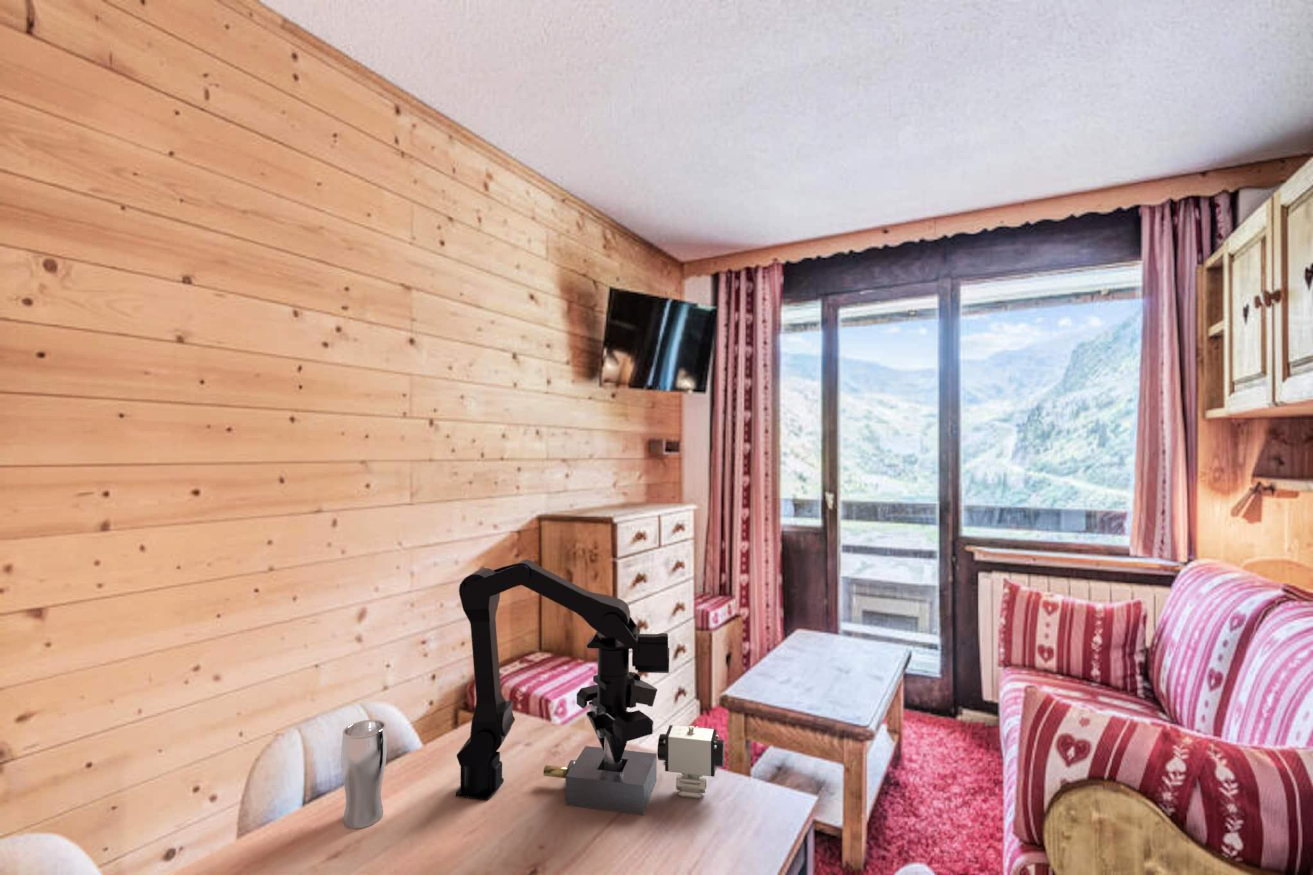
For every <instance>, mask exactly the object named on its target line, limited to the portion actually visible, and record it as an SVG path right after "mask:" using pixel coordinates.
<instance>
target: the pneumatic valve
mask: <svg viewBox="0 0 1313 875" xmlns="http://www.w3.org/2000/svg"><path fill="white" fill-rule="evenodd" d="M719 738H720V736H719V735H718V729H716V728H714V729H713V728H707V727H705V728H703V727H699V726H697V725H695V726H694V725H688V726H686V725H685V726H683V725H673V724H672V725H671V724H669V725H668V729H667V731H666V733H660V734H659V736H658V741H657V753H656V754H657V759H658V760H657V761H663V764H662V765H663V766H664V772H670V773H678V775H676V780H675V789H676V791H679V792H678V795H679V796H681V797H682V798H689V799H697V800H699V799H701V798H702V794H705V793H706V792H707V778H706V777H715V776H716V772H717V769H718V768H724V766H725V756H726V755H725V754H726V750H725V748H726V743H725V739H719ZM717 767H718V768H717ZM679 773H680V774H679ZM703 776H704V777H703ZM705 776H706V777H705Z"/></svg>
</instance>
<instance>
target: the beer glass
mask: <svg viewBox="0 0 1313 875" xmlns="http://www.w3.org/2000/svg"><path fill="white" fill-rule="evenodd" d="M386 727H387V724H386V722H385V721H384V720H380V719H365V720H360V721H356V722H354V723H351V724H349V725H347V726H346V727H345V728H344V729H343V731H342V740H341V749H340V750H341V752H340V753H341V754H340V767H341V768H340V769H341V777H342V781H343V786H344V791H345V793H344V794H345V809H344V813H343V814H344V815H343V817H342V818H343V819H342V824H343V826H344V827H345V828H347V829H351V830H358V829H363V828H367V827H371V826H372V825H374V824H376V823H377V822H379V821H380V820H381V818H382V817H383V814H384V807H383V802H382V784H383V780H384V774H385V768H386V764H387V762H386V761H387V755H388V754H387V750H388V748H387V747H388V743H387V742H388V741H387V740H388V739H387V729H386Z"/></svg>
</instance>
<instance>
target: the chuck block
mask: <svg viewBox="0 0 1313 875" xmlns="http://www.w3.org/2000/svg"><path fill="white" fill-rule="evenodd" d="M657 759H658V755H657V753H654V752H646V751H645V752H644V751H637V750H636V751H634V750H624V752H623V755H622V772H613V771H604V750H603V748H602V747H598V746H589V745H585V746H584V748H582V751H581V753H580V754H579V755H578V757H577V759H576V760H575V759H571V760H569V762H568V765H567V767H565V766H560V765H559V766H557V765H548V764H546V765H544V768H543V777H547V778H548V777H549V778H557V779H565V806H570V807H577V808H583V809H584V808H586V809H593V810H601V811H607V812H615V813H618V812H619V813H624V814H625V813H626V814H632V815H639V816H640V815H642V816H644V815H645V813H646V809H647V807H648V804H649V802H650V799H651V797H652V794H653V791H654V789H655V786H656V783H657V775H658V774H657V773H658V772H657V769H658V768H657V767H658V766H657V764H658V763H657V761H658V760H657Z"/></svg>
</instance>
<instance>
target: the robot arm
mask: <svg viewBox="0 0 1313 875" xmlns="http://www.w3.org/2000/svg"><path fill="white" fill-rule="evenodd" d="M519 586H523V587H525V588H527V589H528V590H531V591H532V592H534V593H536V594H538V595H541V596H542V597H544V598H546V599H548V600H549V601H552V602H554V603H556V604H558V605H560V606H561V607H564V608H566V609H567V610H570V611H572V612H574V613H576V614H577V615H579V617H581V618H582V619H583V621H585V623H586V624H587V625H588V626H590V627H591V628H592V629H594V630H595V631H596V632H595V634H594V635H593V636H592V637H590V639H589V640H588V642H587V644H586V648H587V649H597V674H596V675H593V676H592V680H593V683H595V685H590V686H586V687H585V686H584V687H580V689H579V690H578V692H577V693H576V705H577V706H579V707H580V708H581V709H586V708H587V706H588V705H589V707H590V708H589V709H590V710H589V711H586V716H587V718H588V720H589V722H590V724H591V725H592V728H593V730H594V732H595V735H596V736H597V730H598V729H601V728H605V727H607V728H605V733H606V736H607V740H608V743H609V747H610V750H611V753H612V757H613V760H614V762H615V763H618V762H620V761H621V758H622V755H623V752H624V750H625V749H626V746H627V743H628V742H630V741H633V740H637V739H640V738H643V737H647V736H650V735H653V734H654V720H653V719H652V718H651V717H650V716H648V715H647V714H645V713H644V712H642V711H641V710H639V709H638V710H634V711H628V708H629V709H633V708H636V707H637V704H639V705H646V706H647V707H650V708H651V707H653V706H654V703H655V699H656V696H657V692H658V688H656V687H655V686H653V685H651V684H650V683H648V682H647V681H646V682H645V681H644V680H642V679H641V675H640V674H642V673H643V674H645V673H647V674H669V673H670V647H669V634H668V632H666V633H665V632H662V633H661V632H660V633H641V629H640V628H639V627H638V625H637V624H636V622H635V620H634V619H632V617H631V611H630V610H631V609H630V607H629V605H628V604H627V602H626V601H624V600H622V599H620V598H618V597H614V596H611V595H608V594H603V593H598V592H592V591H589V590H586V589H585V588H583V587H581V586H578V585H577V584H575V583H573V582H571V581H568V580H566V579H565V578H563V577H561V576H559V575H557V574H555V573H553V572H552V571H549V570H547V569H545V567H544V568H543V567H542V566H540V565H537V564H536V563H535V562H534V561H532V560H530V559H522V560H520V561H518V562H516V563H512V564H508V565H505V566H501V567H499V568H496V569H491V568H489V567H482V568H479V569H478V570H476V571H473V573H471V574H469V575H468V576H465V577H464V578H463V580H462V581H461V583H459V587H458V594H459V598H460V603H461V606H462V610H463V612H464V615H465V616H466V618H467V620H468V621H469V625H470V633H471V634H470V635H471V636H470V637H471V650H472V661H473V662H472V663H473V676H474V687H475V689H474V690H475V705H474V710H473V713H472V720H471V725H470V734H469V738H467V740H466V741H465V743H464V744H463V745H462V747H461V749H460V750H459V751H458V752H457V754H456V759H457V761H458V764H459V767H460V781H459V782H460V786H459V788H458V789H457V790H456V791H455V796H456V797H460V798H461V797H462V798H467V799H469V798H470V799H477V800H484V801H487V800H489V799H491V797H492V796H493V795H494V794H495V793H496V791H497V790H498V789H499V788H500V787H501V786H502V784H503V783H504V781H505V780H504V778H503V762H502V761H501V752H500V751H498V750H499V749H500V747H501V746H502V745H503V743H504V741H505V739H506V738H507V736H508V735H509V733H510V732H511V729H512V726H513V725H514V723H515V720H516V718H515V716H514V713H513V709H514V708H513V707H514V701H513V699H510V700H509V699H508V700H506V699H505V697H504V696H503V694H502V689H501V685H502V684H501V676H500V675H501V674H500V662H499V661H500V660H499V659H500V658H499V648H498V636H497V620H496V617H497V611H498V609H499V608H498V606H499V603H500V597H501V593H503V592H506V591H509V590H511V589H514V588H516V587H519ZM630 650H631V652H632V653H631V666H632V667H634V670H635V671H637V672H633V671H630ZM638 673H639V674H638ZM612 725H613V726H612ZM608 726H611V727H608ZM597 739H598V741H599V743H600V746H601V748H603V750H604V737H603V738H599V737H598V736H597Z"/></svg>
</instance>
